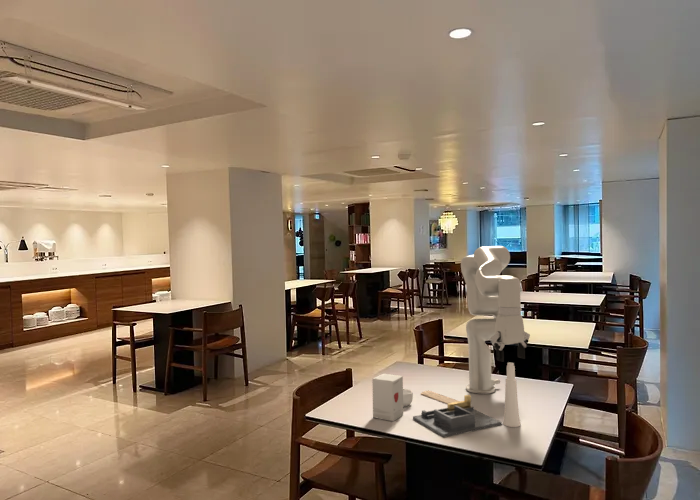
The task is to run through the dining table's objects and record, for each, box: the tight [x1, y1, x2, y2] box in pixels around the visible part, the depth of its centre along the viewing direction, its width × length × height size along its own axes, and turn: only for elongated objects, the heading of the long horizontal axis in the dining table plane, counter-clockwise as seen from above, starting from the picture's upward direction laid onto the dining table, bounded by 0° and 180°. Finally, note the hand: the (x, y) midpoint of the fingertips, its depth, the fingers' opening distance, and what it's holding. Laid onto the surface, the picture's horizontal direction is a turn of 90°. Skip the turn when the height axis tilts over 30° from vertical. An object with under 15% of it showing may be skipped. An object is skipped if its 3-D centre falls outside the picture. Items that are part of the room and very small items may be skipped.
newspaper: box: [420, 390, 460, 405], centre depth 204 cm, size 24×7×2 cm, turn 33°
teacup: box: [403, 388, 414, 407], centre depth 200 cm, size 10×8×5 cm
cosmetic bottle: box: [502, 361, 522, 428], centre depth 175 cm, size 6×6×22 cm
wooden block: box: [446, 394, 472, 411], centre depth 188 cm, size 10×2×5 cm, turn 114°
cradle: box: [412, 405, 503, 438], centre depth 179 cm, size 25×20×5 cm
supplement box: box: [371, 373, 404, 422], centre depth 186 cm, size 9×9×15 cm
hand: (510, 359), depth 175 cm, fingers open, 9 cm apart
